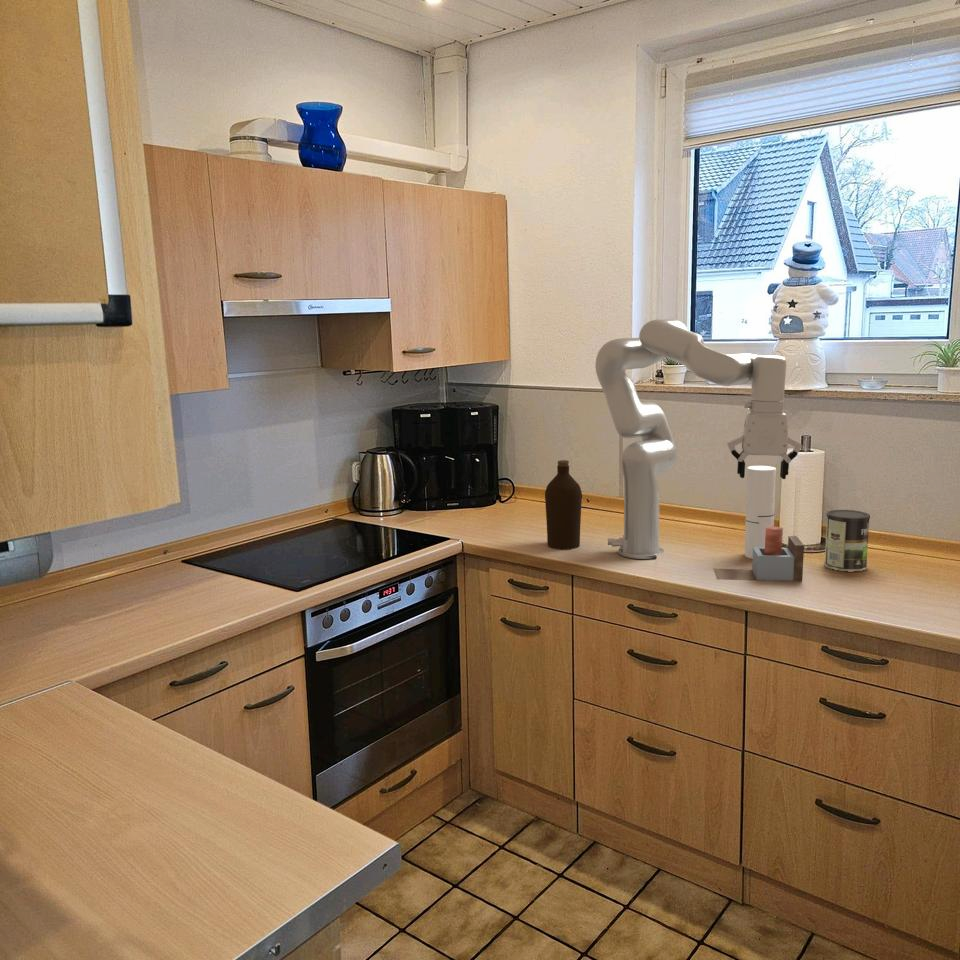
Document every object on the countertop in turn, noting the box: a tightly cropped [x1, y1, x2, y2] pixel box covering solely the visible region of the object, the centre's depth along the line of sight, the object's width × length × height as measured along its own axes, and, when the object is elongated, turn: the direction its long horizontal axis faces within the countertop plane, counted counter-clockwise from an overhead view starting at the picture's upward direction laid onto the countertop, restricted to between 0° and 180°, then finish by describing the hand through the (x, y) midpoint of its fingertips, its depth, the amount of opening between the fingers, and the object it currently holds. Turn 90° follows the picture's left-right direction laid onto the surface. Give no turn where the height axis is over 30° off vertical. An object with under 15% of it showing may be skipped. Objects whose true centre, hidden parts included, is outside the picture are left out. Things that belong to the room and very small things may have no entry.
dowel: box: [764, 526, 784, 555], centre depth 210 cm, size 4×4×12 cm
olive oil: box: [544, 459, 583, 550], centre depth 245 cm, size 11×11×25 cm
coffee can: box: [823, 509, 871, 573], centre depth 219 cm, size 10×10×14 cm
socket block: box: [751, 547, 795, 582], centre depth 211 cm, size 8×8×6 cm
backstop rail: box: [713, 535, 805, 583], centre depth 211 cm, size 20×9×10 cm, turn 80°
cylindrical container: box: [744, 465, 777, 560], centre depth 227 cm, size 7×7×25 cm
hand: (762, 477), depth 207 cm, fingers open, 9 cm apart
